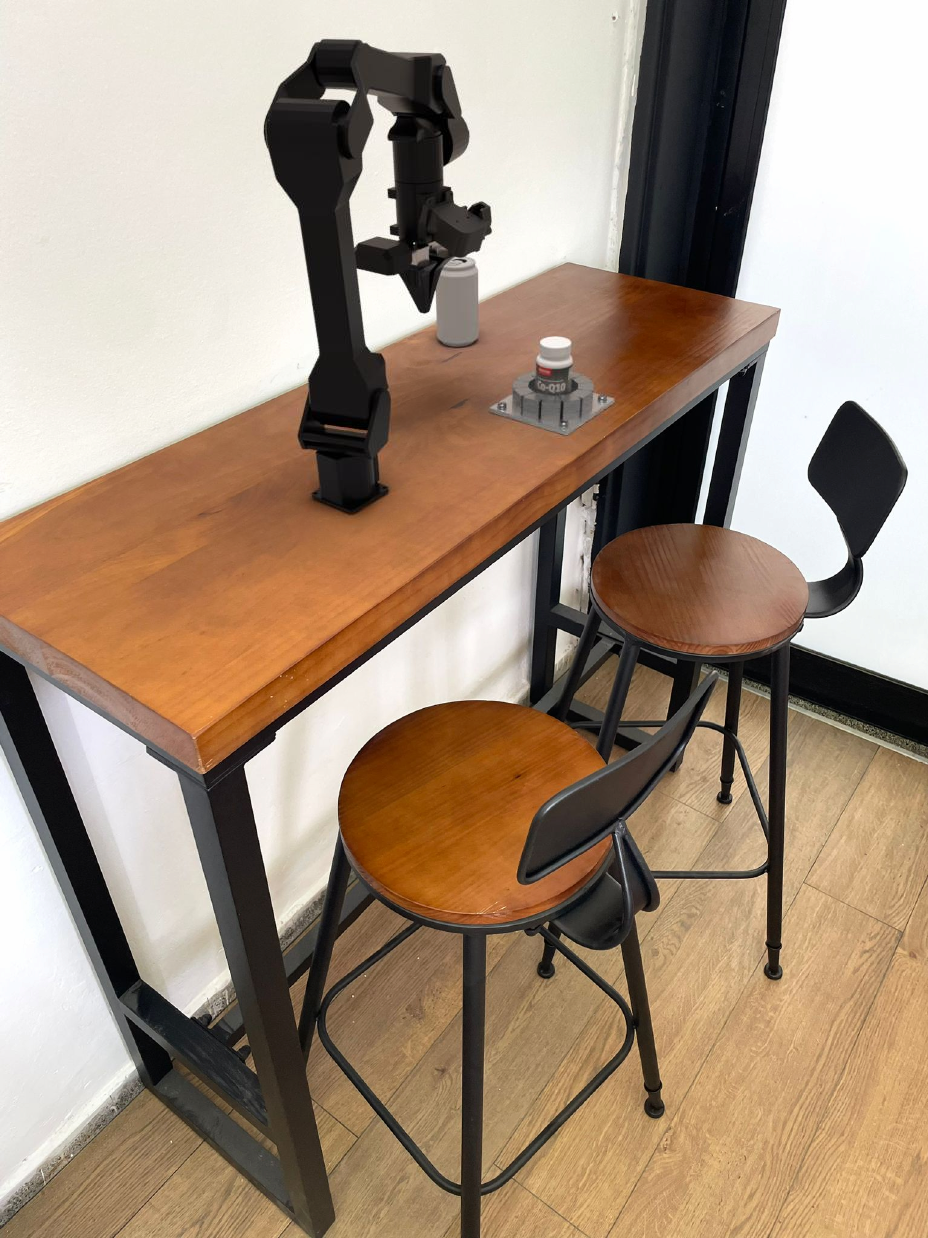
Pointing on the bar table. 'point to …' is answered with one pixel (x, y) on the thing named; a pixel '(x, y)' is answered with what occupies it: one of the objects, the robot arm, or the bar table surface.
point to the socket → (552, 404)
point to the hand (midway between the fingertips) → (424, 312)
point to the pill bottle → (554, 367)
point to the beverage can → (457, 302)
